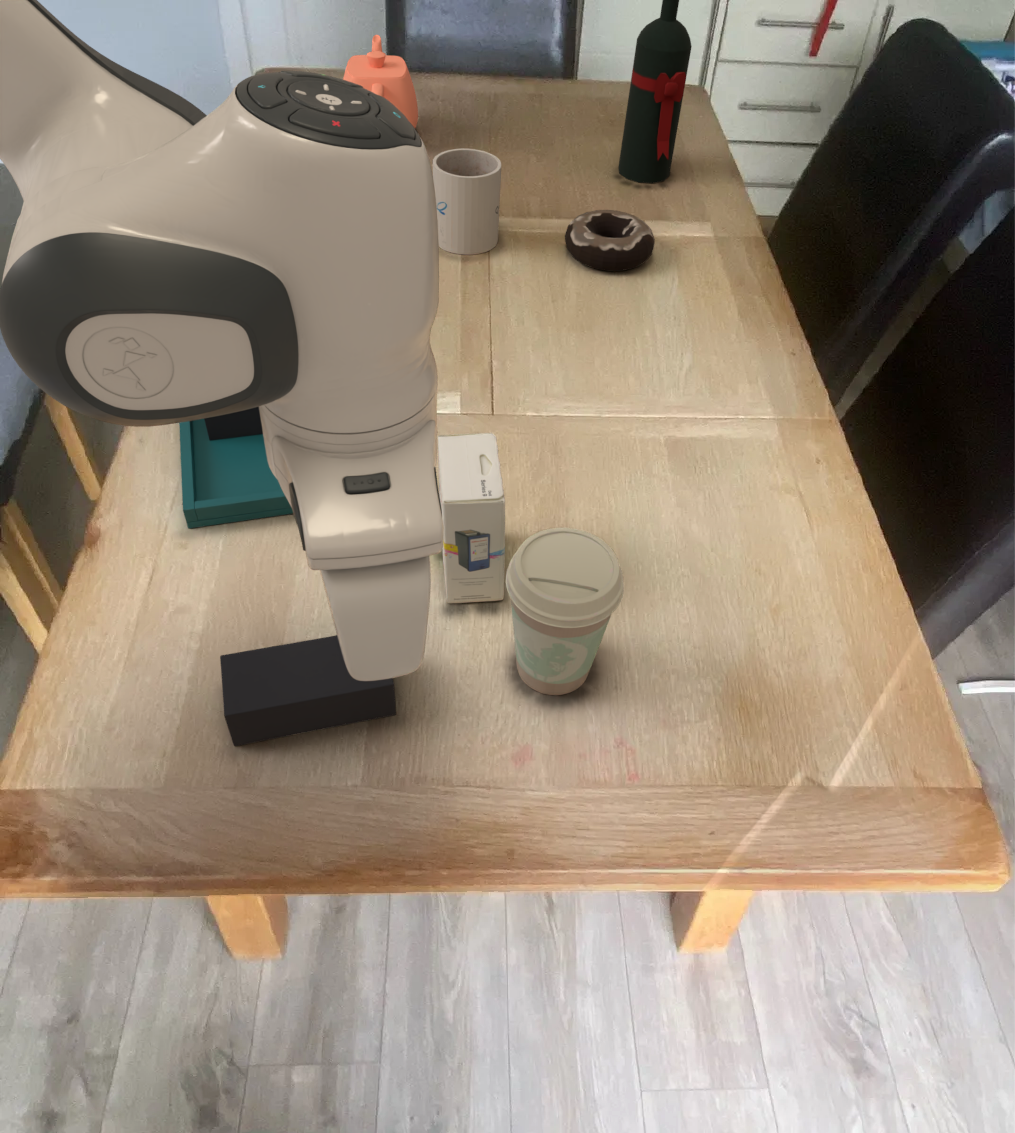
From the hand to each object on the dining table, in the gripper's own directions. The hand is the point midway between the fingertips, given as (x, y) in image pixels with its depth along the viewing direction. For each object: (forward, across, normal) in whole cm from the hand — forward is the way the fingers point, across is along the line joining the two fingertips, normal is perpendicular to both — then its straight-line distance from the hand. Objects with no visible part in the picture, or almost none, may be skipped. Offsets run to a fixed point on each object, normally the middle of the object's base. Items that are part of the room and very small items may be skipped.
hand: (363, 602), depth 56 cm
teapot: (+15, -108, +18) cm, 111 cm away
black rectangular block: (+14, -39, -4) cm, 42 cm away
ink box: (+15, -15, +11) cm, 24 cm away
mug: (+15, -75, +24) cm, 80 cm away
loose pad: (+15, -4, -4) cm, 16 cm away
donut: (+14, -66, +41) cm, 80 cm away
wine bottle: (+14, -89, +55) cm, 105 cm away
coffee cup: (+15, -3, +15) cm, 21 cm away
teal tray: (+15, -34, -4) cm, 37 cm away
